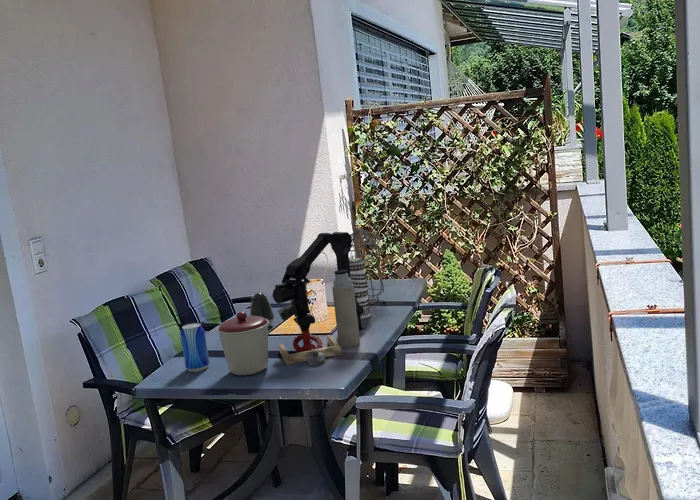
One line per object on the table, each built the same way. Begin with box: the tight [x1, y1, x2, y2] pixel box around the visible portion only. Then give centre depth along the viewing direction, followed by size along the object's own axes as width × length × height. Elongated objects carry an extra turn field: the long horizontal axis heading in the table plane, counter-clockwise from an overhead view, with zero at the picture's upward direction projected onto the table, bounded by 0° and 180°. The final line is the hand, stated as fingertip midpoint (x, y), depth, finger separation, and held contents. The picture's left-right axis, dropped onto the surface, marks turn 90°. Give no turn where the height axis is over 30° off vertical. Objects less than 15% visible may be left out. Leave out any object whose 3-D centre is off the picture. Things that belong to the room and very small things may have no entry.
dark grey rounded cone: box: [249, 292, 275, 328], centre depth 279 cm, size 10×10×15 cm
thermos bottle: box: [331, 270, 361, 348], centre depth 242 cm, size 8×8×28 cm
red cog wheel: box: [292, 329, 323, 353], centre depth 239 cm, size 11×12×8 cm
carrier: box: [278, 334, 343, 366], centre depth 235 cm, size 20×22×4 cm
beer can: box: [180, 322, 210, 373], centre depth 234 cm, size 8×8×16 cm
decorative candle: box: [349, 257, 372, 320], centre depth 279 cm, size 9×9×25 cm
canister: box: [215, 311, 269, 376], centre depth 225 cm, size 18×18×21 cm
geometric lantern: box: [349, 227, 385, 306], centre depth 300 cm, size 16×16×35 cm
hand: (304, 337), depth 245 cm, fingers closed
